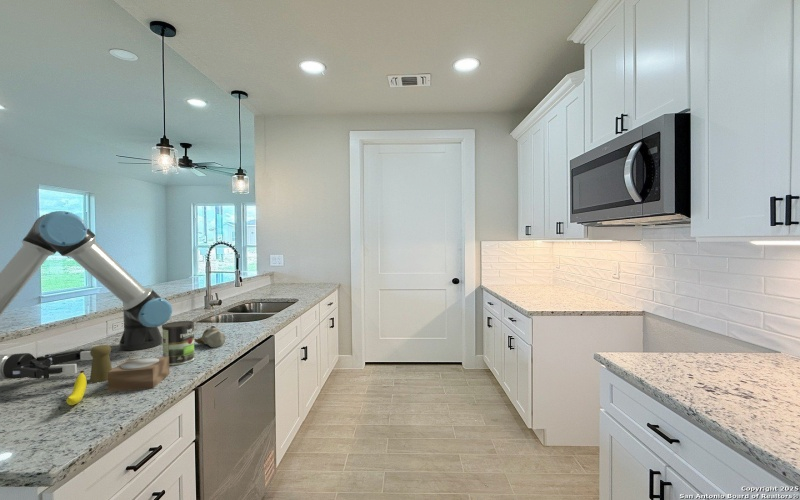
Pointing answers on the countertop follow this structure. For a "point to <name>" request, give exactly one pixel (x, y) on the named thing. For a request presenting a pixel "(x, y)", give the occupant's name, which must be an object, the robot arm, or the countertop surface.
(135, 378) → the walnut plinth
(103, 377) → the cork
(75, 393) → the banana
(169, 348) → the coffee can
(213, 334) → the ceramic sculpture
